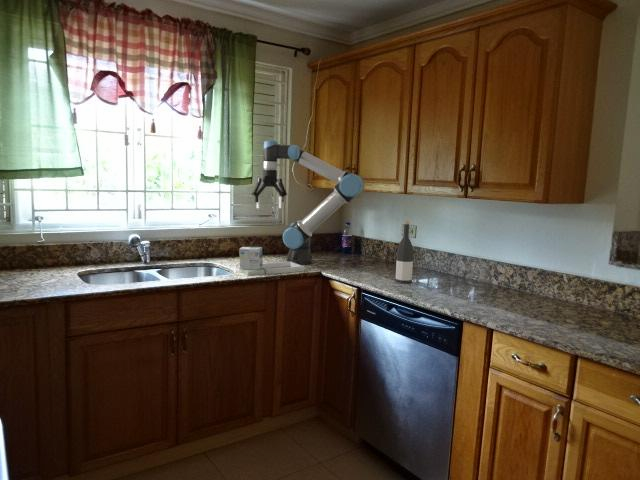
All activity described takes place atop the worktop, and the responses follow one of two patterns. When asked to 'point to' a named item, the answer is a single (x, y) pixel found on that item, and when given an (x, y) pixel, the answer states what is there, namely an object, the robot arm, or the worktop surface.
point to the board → (252, 271)
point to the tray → (292, 268)
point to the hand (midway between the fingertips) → (269, 208)
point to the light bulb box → (251, 258)
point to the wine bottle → (404, 258)
